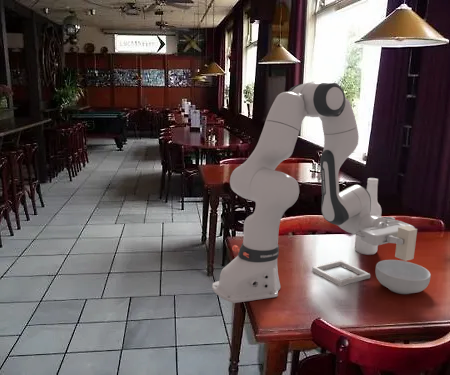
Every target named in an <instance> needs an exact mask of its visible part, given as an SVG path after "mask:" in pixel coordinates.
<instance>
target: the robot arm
mask: <svg viewBox="0 0 450 375" xmlns="http://www.w3.org/2000/svg"><path fill="white" fill-rule="evenodd" d="M306 117H310V118H319V119H320V120H321V121H320V122H321V125H322V130H323V131H322V132H323V137H324V138H323V140H324V141H323V142H324V144H323V149H322V153H321V154H320V160H319V162H320V165H319V166H320V168H319V169H320V183H321V195H322V196H321V205H320V207H321V208H320V209H321V215H322V217H323V218H324V219H325V221H327V222H328V223H330V224H332V225H335V226H338V227H339V228H340V229H341V230H343V231H345V232H347V233H349V234H352V235H355V236H356V235H357V236H359V237H361V240H363V241H365V242H367V243H369V244H371V245H375V246H377V245H378V246H381V245H385V244H399V245H402V244H404V243H405V239H403V238H397V235H398V227H402V226H409V227H412V228H415V229H416V227H415V226H414V225H412V224H409V223H407V222H404V221H402V220H398V219H397V220H396V218H395V217H393V216H381V217H380V216H375V215H372V214H370V211H371V197H370V194H369V192H368V191H367V190H366V189H367V188H365V187H364V186H361V185H360V184H354V185H351V186H349V187H347V188H345V189H343V190H342V191H340V185H339V183H340V182H339V172H340V168H341V167H342V165H343V164H344V162H345V161H346V160H347V159H348V158H349V157H350V156H351V155H352V154H353V153H354V151H355V150H356V149H357V147H358V145H359V138H360V137H359V131H358V130H359V129H358V126H357V125H358V124H357V120H356V116H355V113H354V110H353V107H352V104H351V102H350V100H349V99H348V98H347V97H346V94H345V92H344V90H343V88H342V87H341V86H340V84H338V83H336V82H333V81H329V80H327V81H311V82H309V81H308V82H305V83H299V84H297V85H294V86H293V87H291V88H290V89H289V90H288V91H283V92H281V93H279V94H278V95H276V97H275V99H274V101H273V103H272V105H271V106H270V109H269V111H268V113H267V116H266V119H265V122H264V125H263V128H262V131H261V134H260V136H259V139H258V142H257V144H256V146H255V148H254V150H253V151H252V153H251V154H250V155H249V156H248V158H247V159H246V160H245V161H244V162H243V163H242V164H240V165H239V166H237V167H235V169H234V170H232V172H231V174H230V177H229V185H230V189H231V190H232V192H234V193H235V194H237V195H238V196H239V197H241V198H242V199H246V200H249V201H252V202H255V209H254V212H253V213H252V214H250V215H249V216H247V217H246V218H245V220H244V223H243V237H242V238H243V241H242V243H241V245H240V247H239V246H238V245H236V244H234V245H232V251H233V252H234V253H236V254H237V256H236V257H235V258H234V259H232V260H231V261H230V262H229V263H228V264H227V265H225V266H224V267H223V268H222V269H221V271H220V274H219V278H218V279H219V280H217V281H214V282H212V286H211V288H212V291H213V292H214V293H215V294H216V295H217V296H218V297H220V298H221V299H223V300H224V301H227V302H230V303H234V304H236V303H242V302H243V303H244V302H250V301H256V300H263V299H264V300H265V299H271V298H277V297H278V296H279V290H281V283H280V278H279V272H278V271H279V270H278V258H279V255H280V254H279V252H280V251H279V250H280V246H279V244H278V243H279V230H280V224H281V220H282V218H283V215H284V214H285V212H286V211H287V210H288V209H289V208H291V207H293V205H294V204H295V203H296V202H297V200H298V198H299V194H300V186H299V183H298V180H296V178H294V177H293V176H291V175H289V174H287V173H285V172H282V171H280V170H276V169H277V167H278V166H279V165H280V164H281V163H282V162H283V161H285V160H288V159H289V158H290V157H291V156H292V155H293V152H294V149H295V146H296V143H297V140H298V138H299V135H300V131H301V127H302V124H303V121H304V120H305V118H306Z"/></svg>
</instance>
